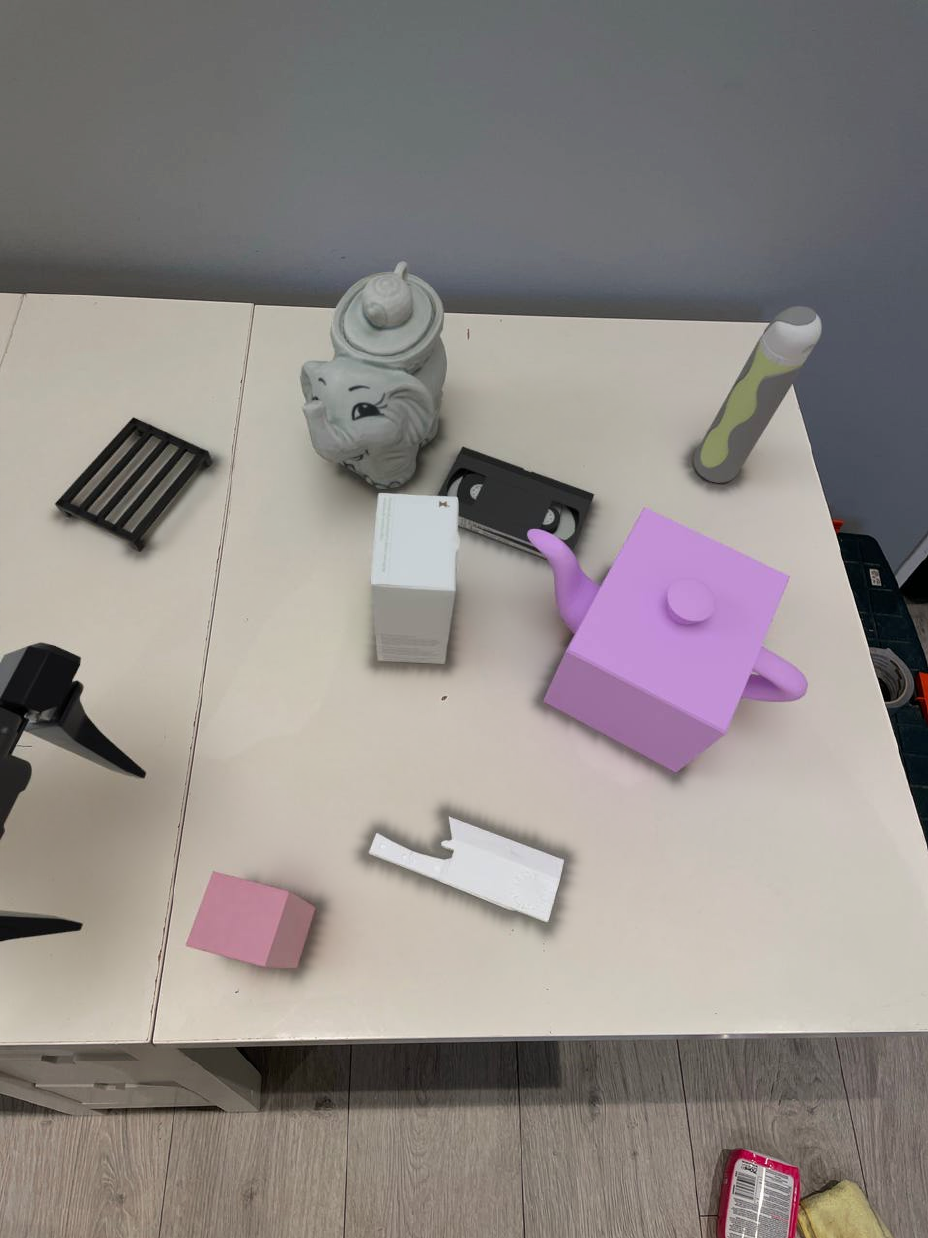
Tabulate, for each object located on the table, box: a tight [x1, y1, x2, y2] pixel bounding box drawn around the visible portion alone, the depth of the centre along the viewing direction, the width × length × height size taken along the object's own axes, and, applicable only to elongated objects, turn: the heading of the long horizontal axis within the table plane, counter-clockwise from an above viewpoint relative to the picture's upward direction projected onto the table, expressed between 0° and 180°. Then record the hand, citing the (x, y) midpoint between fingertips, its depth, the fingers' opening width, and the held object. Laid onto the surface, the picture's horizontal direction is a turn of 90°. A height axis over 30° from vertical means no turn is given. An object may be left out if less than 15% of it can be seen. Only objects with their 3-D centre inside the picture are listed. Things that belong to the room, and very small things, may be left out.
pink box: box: [185, 870, 317, 969], centre depth 51 cm, size 5×4×13 cm
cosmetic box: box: [370, 492, 461, 665], centre depth 61 cm, size 8×7×16 cm
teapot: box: [527, 506, 809, 774], centre depth 62 cm, size 15×25×14 cm, turn 61°
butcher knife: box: [368, 816, 565, 923], centre depth 59 cm, size 5×15×1 cm, turn 70°
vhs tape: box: [436, 446, 595, 561], centre depth 73 cm, size 14×8×2 cm, turn 68°
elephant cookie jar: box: [299, 260, 448, 490], centre depth 68 cm, size 16×15×19 cm
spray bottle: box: [693, 305, 823, 484], centre depth 69 cm, size 5×5×20 cm
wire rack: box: [54, 416, 213, 552], centre depth 72 cm, size 12×9×2 cm
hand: (112, 847), depth 46 cm, fingers open, 9 cm apart
